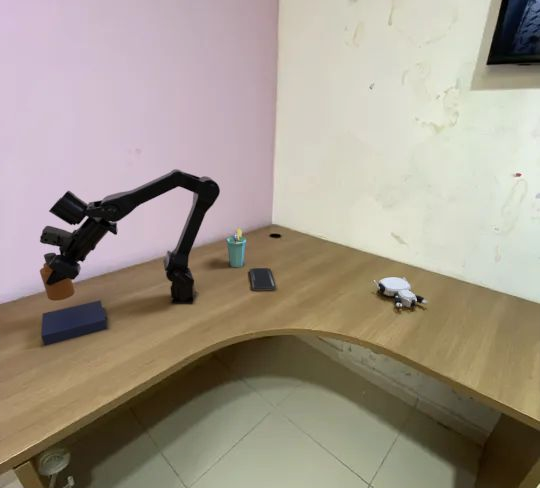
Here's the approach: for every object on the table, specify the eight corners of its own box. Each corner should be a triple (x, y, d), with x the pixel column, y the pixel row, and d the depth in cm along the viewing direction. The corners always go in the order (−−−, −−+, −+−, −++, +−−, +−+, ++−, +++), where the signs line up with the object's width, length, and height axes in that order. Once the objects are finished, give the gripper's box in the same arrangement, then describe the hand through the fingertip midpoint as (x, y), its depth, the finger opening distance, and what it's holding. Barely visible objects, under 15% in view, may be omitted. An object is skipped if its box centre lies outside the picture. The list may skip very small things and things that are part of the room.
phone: (269, 268, 119) (275, 287, 105) (269, 270, 119) (275, 290, 106) (249, 268, 118) (252, 287, 104) (249, 271, 118) (252, 290, 105)
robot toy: (428, 310, 100) (400, 285, 112) (432, 299, 98) (403, 274, 110) (394, 314, 97) (370, 288, 110) (398, 303, 95) (373, 277, 107)
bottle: (79, 289, 88) (68, 250, 83) (67, 300, 82) (55, 259, 77) (56, 288, 87) (44, 249, 82) (42, 300, 82) (29, 259, 77)
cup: (245, 273, 116) (245, 236, 110) (224, 273, 116) (223, 235, 110) (246, 258, 129) (247, 224, 122) (228, 257, 129) (227, 223, 122)
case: (104, 308, 92) (102, 299, 91) (109, 328, 84) (107, 319, 82) (45, 322, 85) (42, 313, 84) (44, 345, 77) (41, 335, 75)
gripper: (65, 206, 84) (29, 248, 86) (48, 227, 69) (4, 278, 70) (103, 231, 90) (68, 269, 92) (95, 256, 75) (54, 302, 76)
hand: (50, 278), depth 82 cm, fingers closed on bottle, 6 cm apart
